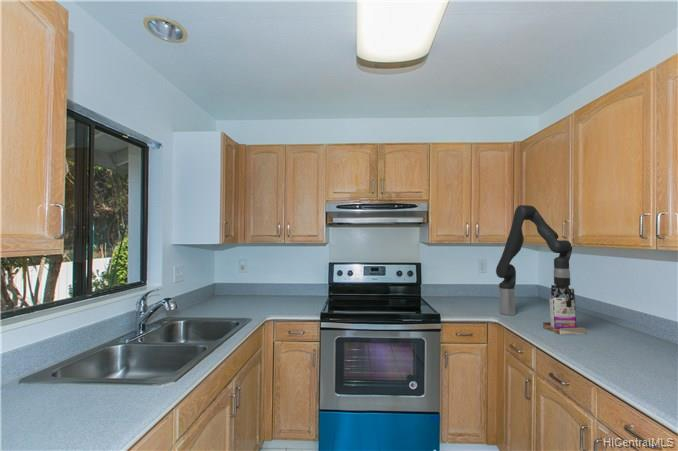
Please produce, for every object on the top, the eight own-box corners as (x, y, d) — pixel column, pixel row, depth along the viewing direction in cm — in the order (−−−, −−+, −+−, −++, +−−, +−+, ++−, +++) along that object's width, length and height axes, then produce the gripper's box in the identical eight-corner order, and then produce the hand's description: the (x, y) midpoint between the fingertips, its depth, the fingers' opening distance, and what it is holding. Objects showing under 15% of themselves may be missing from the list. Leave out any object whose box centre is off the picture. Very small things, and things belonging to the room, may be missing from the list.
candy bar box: (571, 326, 180) (570, 297, 181) (576, 329, 175) (575, 299, 176) (550, 326, 182) (549, 297, 183) (554, 328, 177) (553, 298, 178)
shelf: (543, 327, 185) (542, 322, 185) (566, 326, 186) (566, 321, 186) (560, 335, 171) (560, 328, 171) (585, 334, 172) (585, 328, 172)
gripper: (578, 277, 172) (579, 308, 172) (558, 274, 187) (559, 302, 186) (565, 278, 172) (566, 308, 171) (546, 274, 186) (547, 303, 186)
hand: (562, 305), depth 179 cm, fingers open, 8 cm apart
